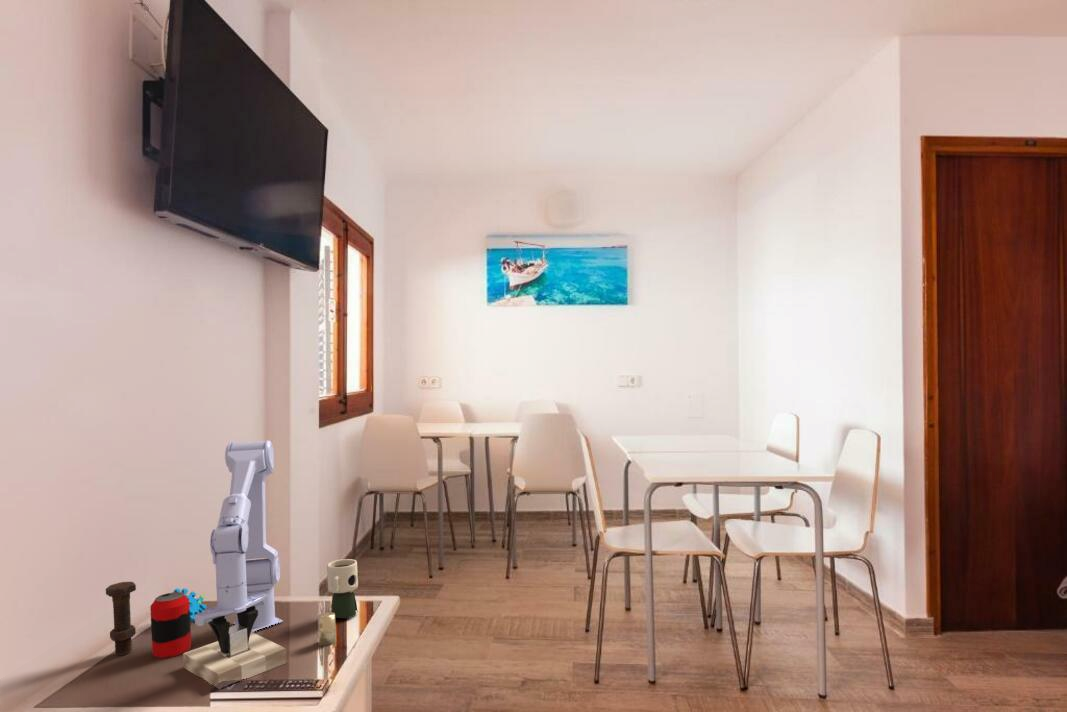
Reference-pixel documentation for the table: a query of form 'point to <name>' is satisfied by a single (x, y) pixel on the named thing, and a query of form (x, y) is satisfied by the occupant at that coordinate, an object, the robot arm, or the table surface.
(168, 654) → the soda can
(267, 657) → the socket plate
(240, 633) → the square bit
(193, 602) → the gear
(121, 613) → the bolt
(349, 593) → the character mug
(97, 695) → the table surface
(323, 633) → the round bit
